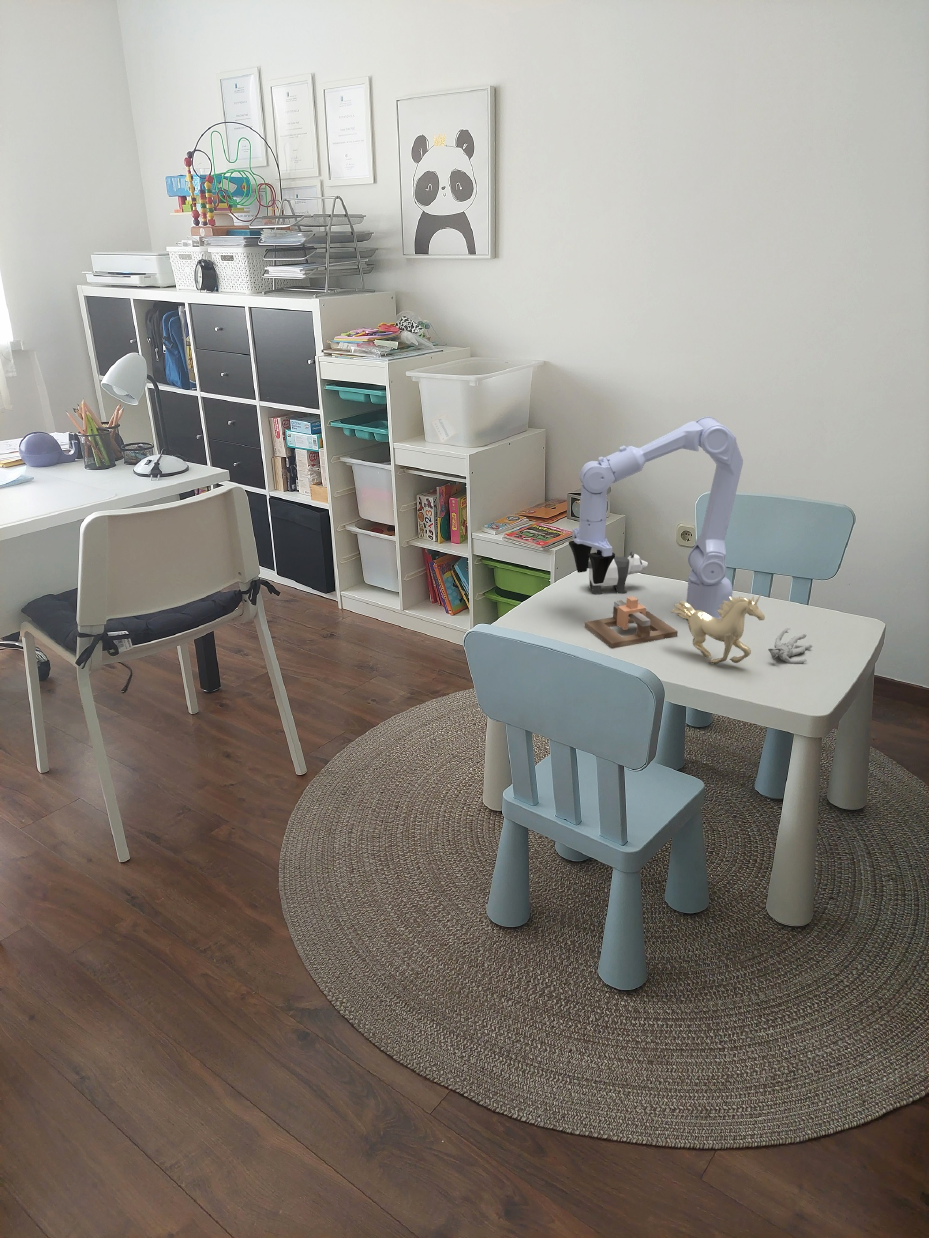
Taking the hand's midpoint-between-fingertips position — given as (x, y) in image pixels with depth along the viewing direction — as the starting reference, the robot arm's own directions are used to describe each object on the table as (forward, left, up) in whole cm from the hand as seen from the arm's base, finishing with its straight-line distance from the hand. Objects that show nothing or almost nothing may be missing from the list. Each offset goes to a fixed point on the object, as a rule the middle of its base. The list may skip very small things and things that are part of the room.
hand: (590, 577), depth 197 cm
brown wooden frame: (-5, +10, -10) cm, 15 cm away
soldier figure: (-29, +33, -10) cm, 45 cm away
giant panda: (-14, -13, -10) cm, 22 cm away
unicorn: (-12, +29, -10) cm, 33 cm away
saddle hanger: (-5, +10, -8) cm, 14 cm away
